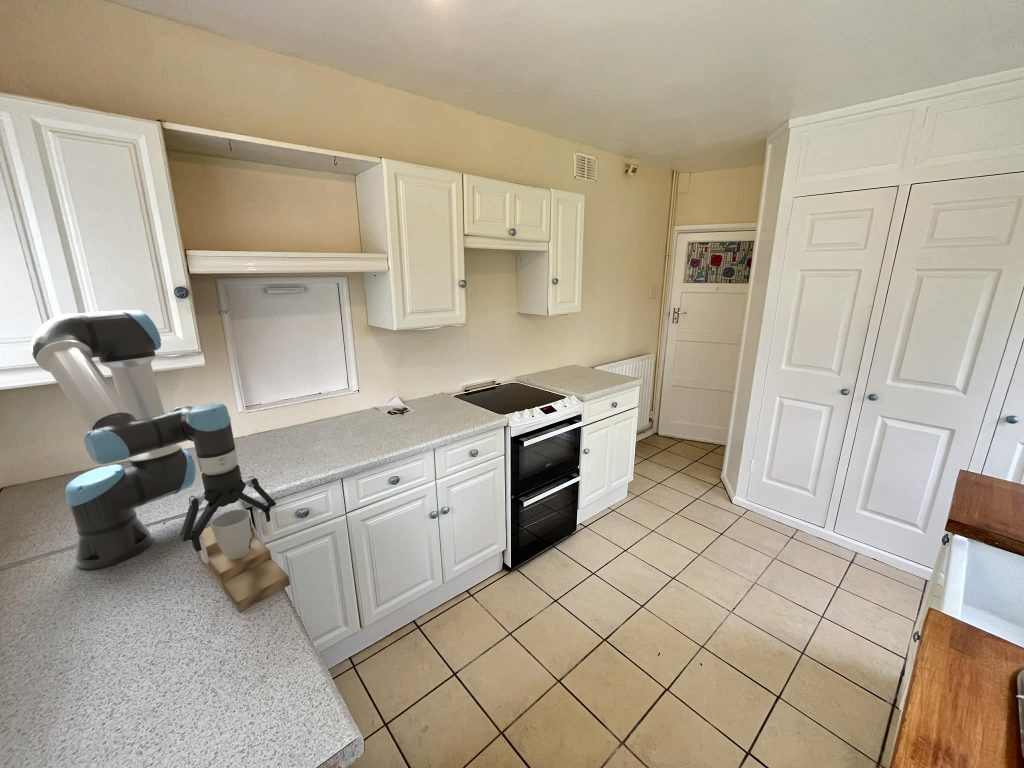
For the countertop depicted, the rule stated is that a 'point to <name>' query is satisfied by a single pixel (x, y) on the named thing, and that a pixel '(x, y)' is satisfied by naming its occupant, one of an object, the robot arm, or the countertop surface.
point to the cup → (233, 533)
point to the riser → (244, 572)
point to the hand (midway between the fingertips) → (237, 546)
